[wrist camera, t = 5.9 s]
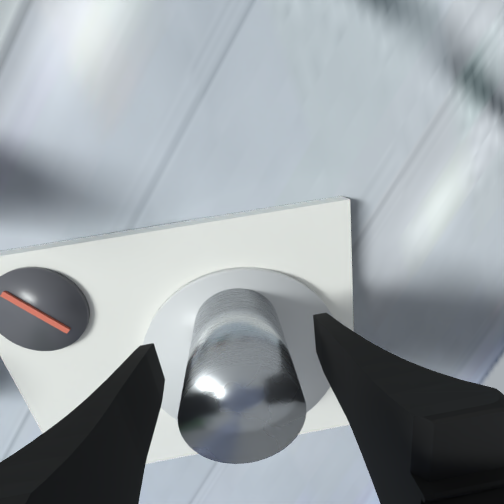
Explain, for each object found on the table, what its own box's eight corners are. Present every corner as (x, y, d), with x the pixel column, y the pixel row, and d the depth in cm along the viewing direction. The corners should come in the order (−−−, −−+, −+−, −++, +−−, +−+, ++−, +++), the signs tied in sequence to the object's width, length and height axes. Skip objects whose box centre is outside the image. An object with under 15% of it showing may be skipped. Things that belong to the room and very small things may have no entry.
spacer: (271, 362, 16) (293, 463, 11) (191, 358, 15) (174, 463, 10) (284, 291, 14) (318, 368, 9) (197, 284, 14) (181, 362, 9)
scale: (348, 408, 20) (360, 431, 18) (76, 459, 19) (62, 489, 18) (340, 195, 15) (355, 201, 13) (-29, 255, 14) (-63, 269, 13)
